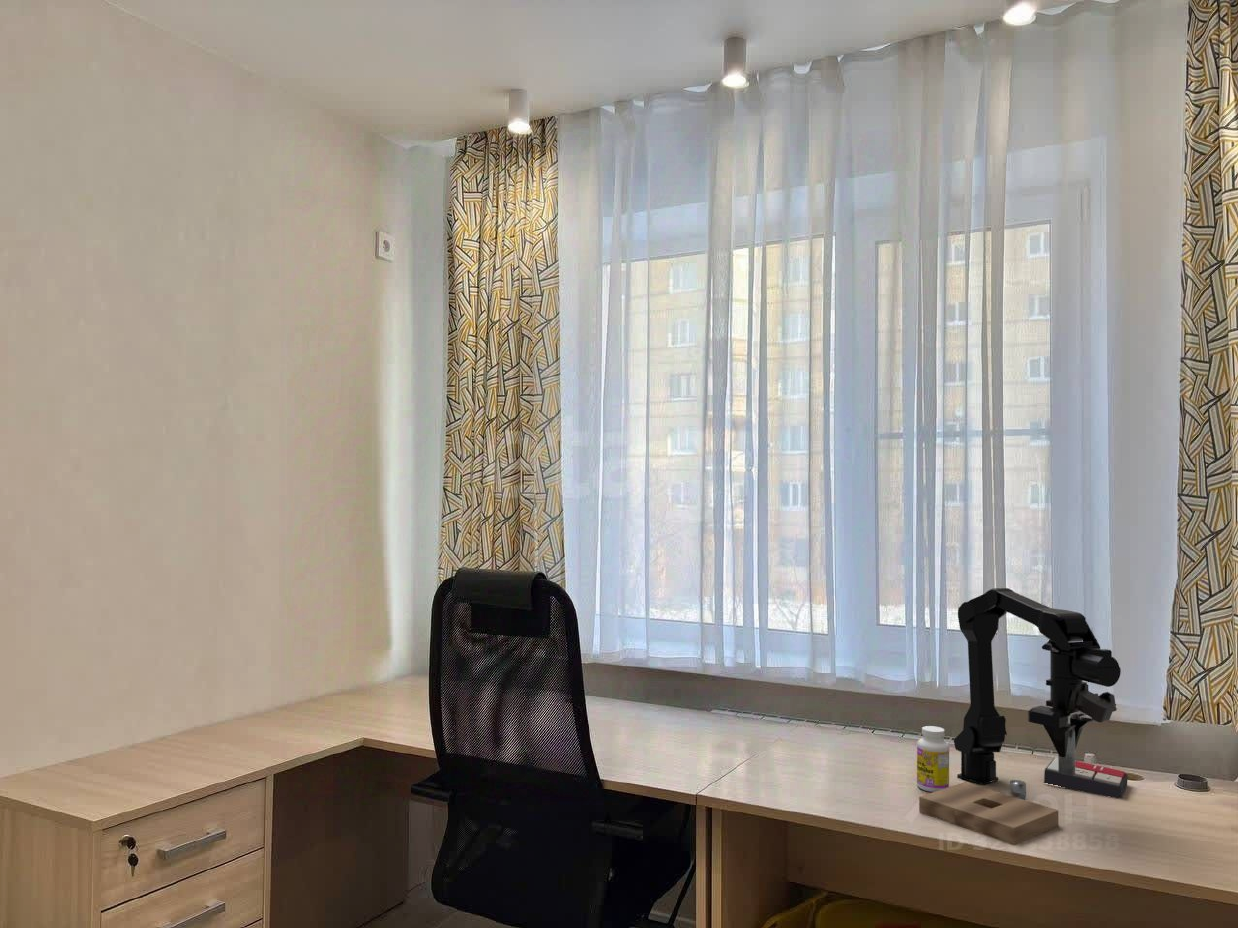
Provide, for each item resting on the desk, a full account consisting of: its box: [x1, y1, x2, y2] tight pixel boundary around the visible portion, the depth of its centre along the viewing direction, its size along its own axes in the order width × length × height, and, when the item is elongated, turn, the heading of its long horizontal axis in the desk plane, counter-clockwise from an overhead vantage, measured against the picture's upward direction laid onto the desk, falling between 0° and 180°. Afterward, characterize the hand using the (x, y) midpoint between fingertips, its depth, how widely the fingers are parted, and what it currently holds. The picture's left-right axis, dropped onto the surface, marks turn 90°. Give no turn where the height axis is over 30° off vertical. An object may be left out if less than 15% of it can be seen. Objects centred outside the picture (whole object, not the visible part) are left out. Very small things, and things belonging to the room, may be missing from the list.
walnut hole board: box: [918, 781, 1060, 845], centre depth 175 cm, size 20×16×3 cm
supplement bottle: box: [916, 725, 950, 793], centre depth 193 cm, size 7×7×13 cm
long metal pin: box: [1057, 727, 1076, 775], centre depth 176 cm, size 3×3×9 cm
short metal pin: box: [1009, 779, 1027, 801], centre depth 184 cm, size 3×3×4 cm
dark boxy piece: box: [1043, 757, 1129, 799], centre depth 197 cm, size 11×4×15 cm
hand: (1066, 755), depth 176 cm, fingers closed on long metal pin, 3 cm apart
